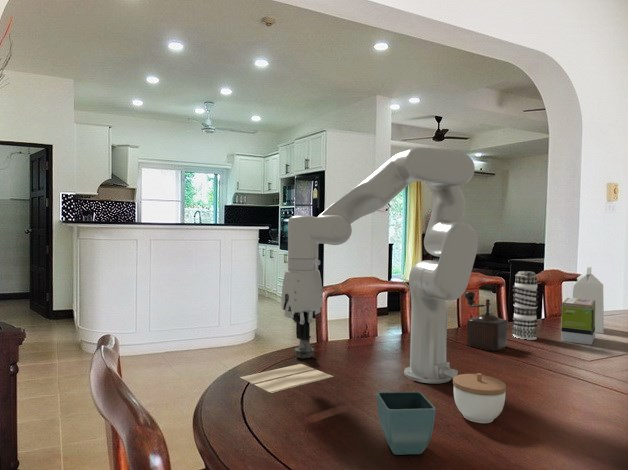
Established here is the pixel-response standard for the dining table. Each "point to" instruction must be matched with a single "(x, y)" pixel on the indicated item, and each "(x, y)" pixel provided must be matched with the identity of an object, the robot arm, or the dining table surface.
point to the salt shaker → (304, 349)
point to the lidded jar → (479, 396)
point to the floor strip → (276, 373)
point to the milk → (591, 296)
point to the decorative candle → (525, 305)
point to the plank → (293, 381)
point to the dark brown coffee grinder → (485, 328)
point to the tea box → (578, 321)
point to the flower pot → (406, 421)
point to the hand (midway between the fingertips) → (302, 338)
